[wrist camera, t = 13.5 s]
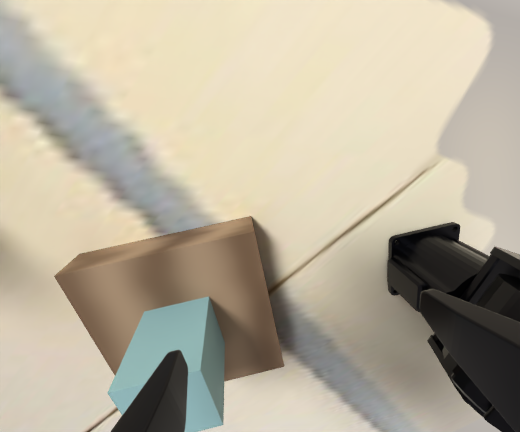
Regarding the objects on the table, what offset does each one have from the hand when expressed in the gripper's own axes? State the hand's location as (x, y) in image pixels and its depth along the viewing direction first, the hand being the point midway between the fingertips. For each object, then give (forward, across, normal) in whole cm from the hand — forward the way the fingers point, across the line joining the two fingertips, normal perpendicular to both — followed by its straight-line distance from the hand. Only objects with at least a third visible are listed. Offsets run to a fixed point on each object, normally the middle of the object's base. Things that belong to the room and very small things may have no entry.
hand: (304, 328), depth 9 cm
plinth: (+12, +8, +7) cm, 16 cm away
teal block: (+9, +8, +7) cm, 14 cm away
